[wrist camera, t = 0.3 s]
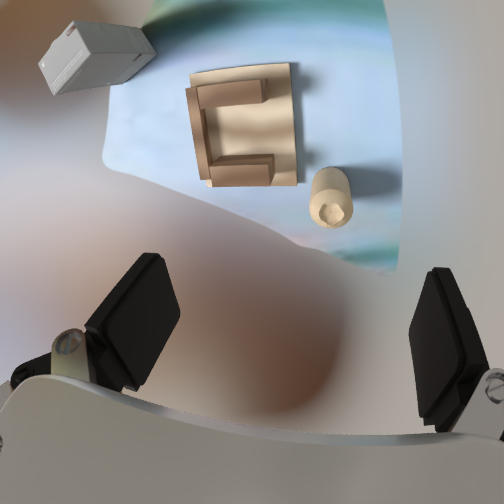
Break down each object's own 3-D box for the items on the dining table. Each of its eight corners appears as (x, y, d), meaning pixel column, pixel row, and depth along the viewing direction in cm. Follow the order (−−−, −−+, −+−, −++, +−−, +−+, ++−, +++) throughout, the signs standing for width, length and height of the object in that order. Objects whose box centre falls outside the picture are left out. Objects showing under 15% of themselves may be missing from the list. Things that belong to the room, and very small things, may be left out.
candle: (350, 168, 41) (357, 196, 33) (346, 202, 44) (350, 236, 36) (313, 164, 42) (310, 191, 34) (311, 198, 45) (307, 231, 37)
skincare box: (124, 84, 40) (54, 103, 27) (105, 54, 37) (33, 65, 24) (161, 53, 36) (92, 58, 23) (140, 22, 33) (69, 19, 20)
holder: (192, 74, 37) (173, 76, 32) (289, 63, 34) (284, 62, 29) (209, 184, 47) (195, 200, 43) (297, 183, 44) (293, 200, 39)
